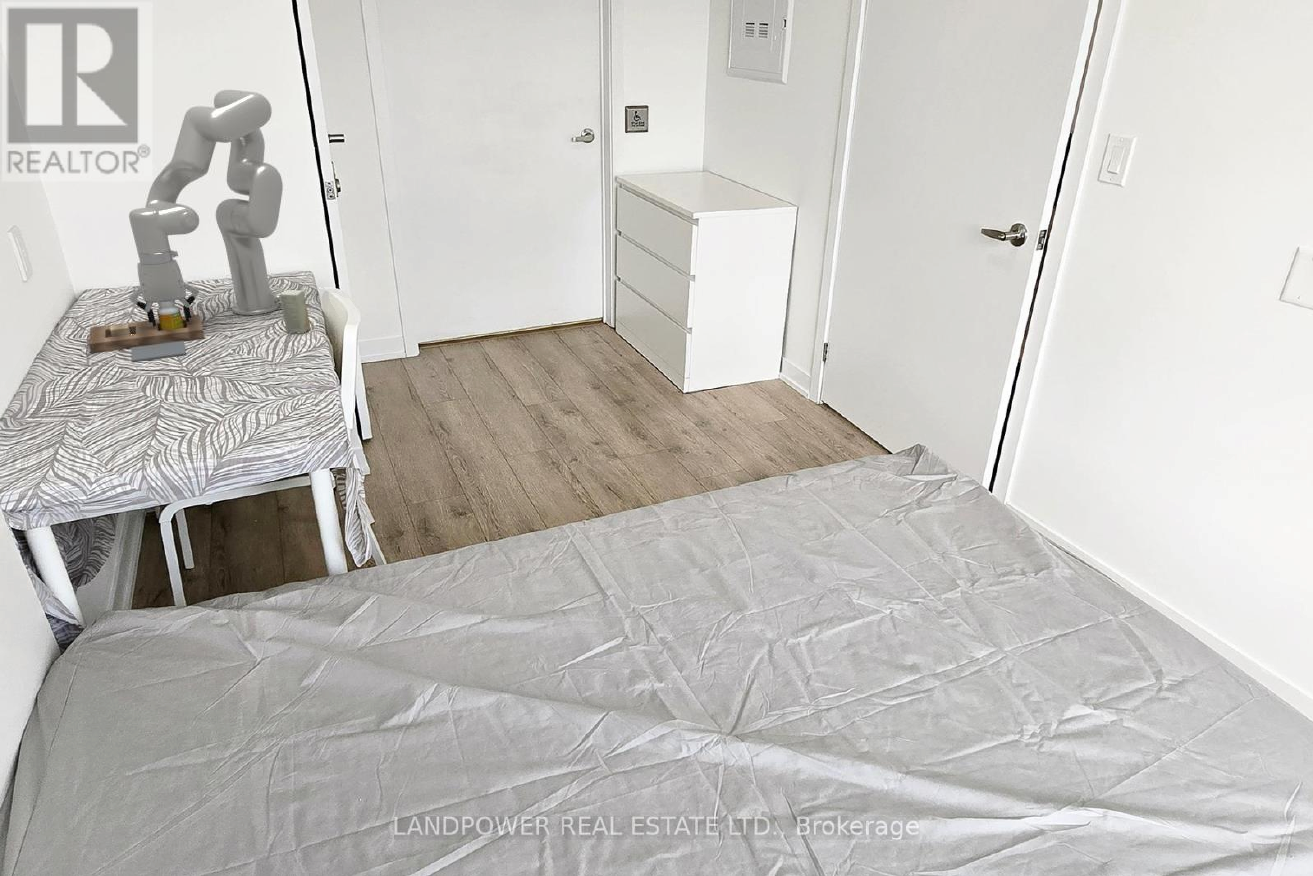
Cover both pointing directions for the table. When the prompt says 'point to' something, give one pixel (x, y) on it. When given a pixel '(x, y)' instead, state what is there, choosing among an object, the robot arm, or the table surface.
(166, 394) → the table surface
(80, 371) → the table surface
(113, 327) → the maple block
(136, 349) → the rubber mat
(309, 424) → the table surface
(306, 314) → the box
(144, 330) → the puzzle board
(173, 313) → the supplement bottle
